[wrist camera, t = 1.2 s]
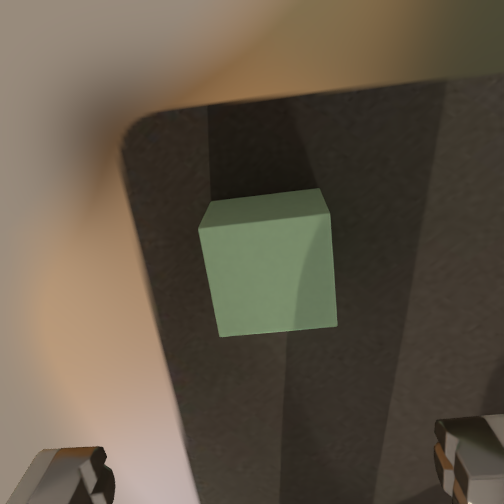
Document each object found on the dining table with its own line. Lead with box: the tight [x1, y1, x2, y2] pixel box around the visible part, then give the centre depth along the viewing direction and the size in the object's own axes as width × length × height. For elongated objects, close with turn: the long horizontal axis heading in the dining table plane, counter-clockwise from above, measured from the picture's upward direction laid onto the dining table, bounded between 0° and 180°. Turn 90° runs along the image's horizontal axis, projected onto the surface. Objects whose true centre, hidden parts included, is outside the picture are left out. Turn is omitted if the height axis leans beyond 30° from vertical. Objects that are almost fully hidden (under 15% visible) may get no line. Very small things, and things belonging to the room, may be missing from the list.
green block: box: [198, 188, 337, 337], centre depth 20 cm, size 6×6×4 cm
